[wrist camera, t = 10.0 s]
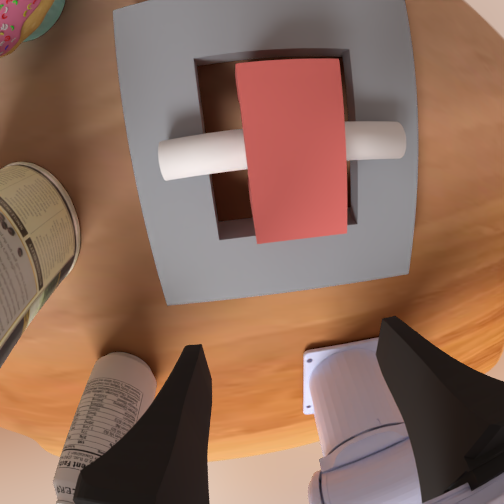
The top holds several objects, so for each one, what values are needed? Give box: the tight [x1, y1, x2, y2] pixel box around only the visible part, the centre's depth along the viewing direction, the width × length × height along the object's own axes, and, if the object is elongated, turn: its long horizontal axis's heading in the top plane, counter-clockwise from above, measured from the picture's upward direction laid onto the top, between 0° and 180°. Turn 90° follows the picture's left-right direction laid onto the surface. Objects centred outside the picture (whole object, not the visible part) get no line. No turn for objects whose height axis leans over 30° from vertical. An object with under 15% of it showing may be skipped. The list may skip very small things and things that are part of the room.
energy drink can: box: [53, 352, 157, 504], centre depth 19 cm, size 6×6×15 cm
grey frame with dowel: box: [113, 0, 418, 306], centre depth 16 cm, size 18×16×5 cm
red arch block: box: [235, 59, 347, 244], centre depth 15 cm, size 8×4×6 cm, turn 6°
